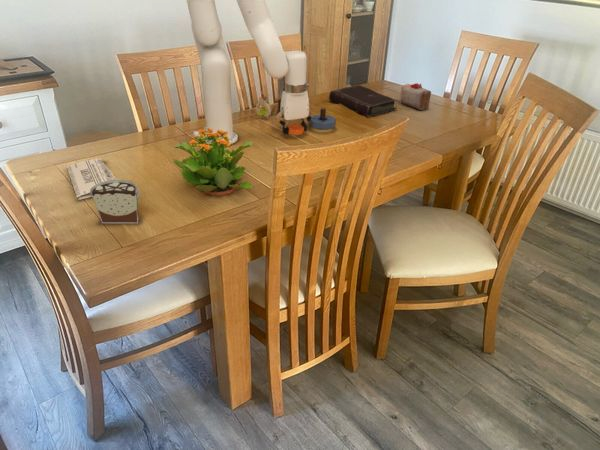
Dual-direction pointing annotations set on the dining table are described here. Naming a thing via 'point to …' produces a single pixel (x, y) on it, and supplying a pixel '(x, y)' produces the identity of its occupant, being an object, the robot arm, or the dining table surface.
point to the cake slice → (116, 201)
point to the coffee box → (280, 90)
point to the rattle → (263, 103)
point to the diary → (363, 100)
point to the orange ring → (295, 129)
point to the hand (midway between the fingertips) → (294, 134)
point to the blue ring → (322, 122)
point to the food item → (415, 96)
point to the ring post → (322, 116)
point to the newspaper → (88, 176)
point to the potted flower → (213, 164)
